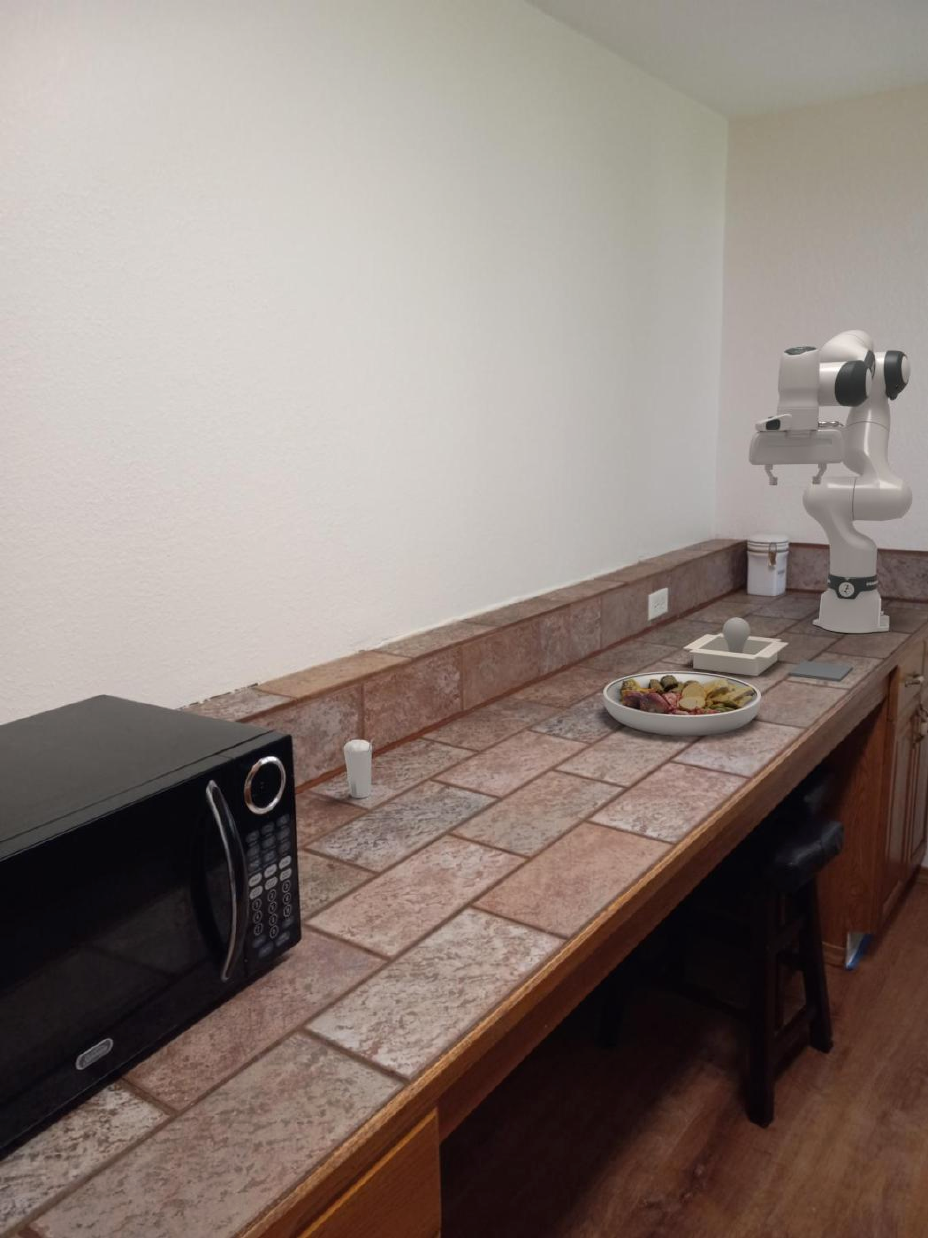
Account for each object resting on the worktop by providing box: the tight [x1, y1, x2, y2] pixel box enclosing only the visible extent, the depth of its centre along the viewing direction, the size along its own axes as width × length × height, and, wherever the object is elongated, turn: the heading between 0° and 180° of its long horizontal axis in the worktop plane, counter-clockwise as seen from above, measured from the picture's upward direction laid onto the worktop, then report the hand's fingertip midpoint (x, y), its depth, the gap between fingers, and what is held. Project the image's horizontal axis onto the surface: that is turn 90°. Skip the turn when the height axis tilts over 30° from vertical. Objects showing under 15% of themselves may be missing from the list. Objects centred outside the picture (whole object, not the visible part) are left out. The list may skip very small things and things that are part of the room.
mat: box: [787, 660, 854, 682], centre depth 219 cm, size 11×11×1 cm
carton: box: [682, 632, 790, 677], centre depth 227 cm, size 20×20×4 cm
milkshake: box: [343, 738, 374, 799], centre depth 159 cm, size 5×5×10 cm
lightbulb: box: [722, 616, 751, 654], centre depth 226 cm, size 6×6×11 cm
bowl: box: [602, 670, 762, 737], centre depth 193 cm, size 30×30×8 cm
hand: (794, 484), depth 223 cm, fingers open, 8 cm apart
